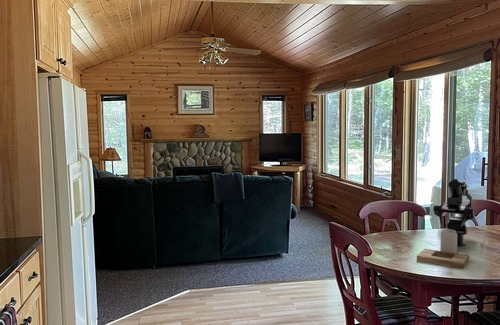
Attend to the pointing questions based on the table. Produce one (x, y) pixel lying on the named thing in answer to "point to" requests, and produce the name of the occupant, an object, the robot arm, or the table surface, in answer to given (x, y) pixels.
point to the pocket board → (447, 259)
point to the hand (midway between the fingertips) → (450, 225)
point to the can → (448, 241)
